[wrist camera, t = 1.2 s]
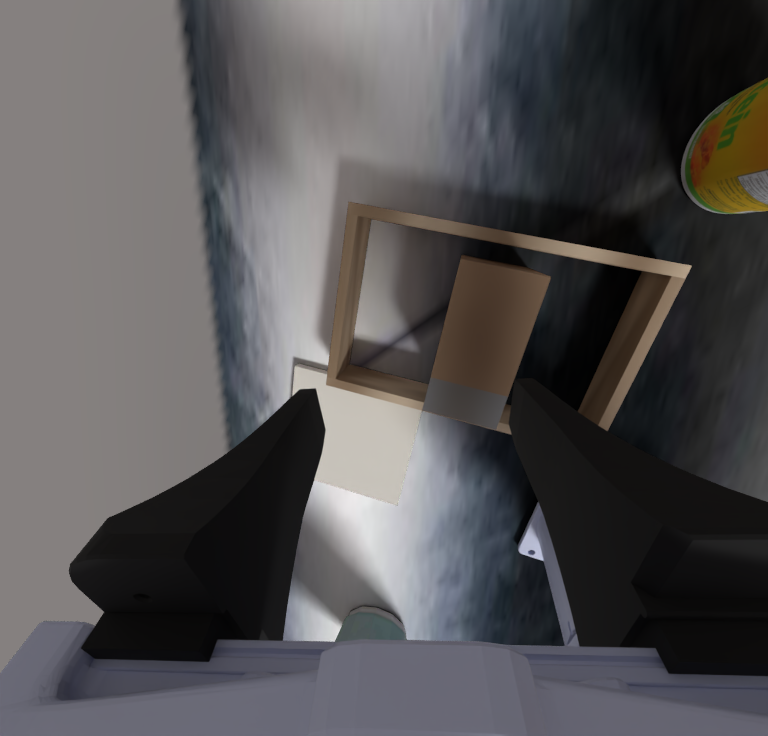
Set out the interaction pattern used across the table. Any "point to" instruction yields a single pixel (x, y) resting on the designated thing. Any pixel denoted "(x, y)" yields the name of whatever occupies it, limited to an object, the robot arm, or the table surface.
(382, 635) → the disposable coffee cup
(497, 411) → the block
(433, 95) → the table surface
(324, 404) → the pad
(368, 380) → the frame
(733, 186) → the supplement bottle
